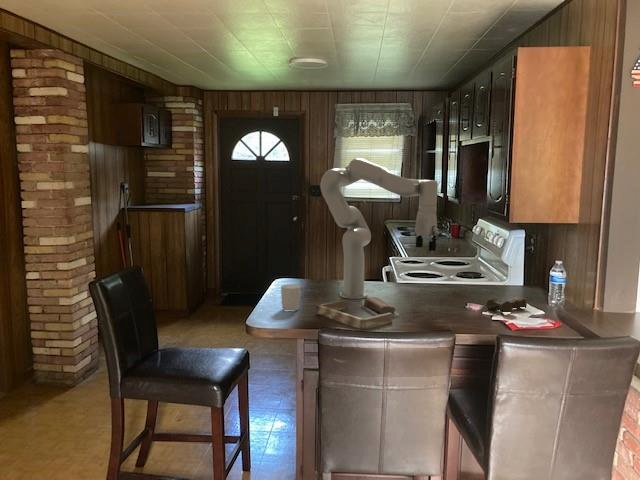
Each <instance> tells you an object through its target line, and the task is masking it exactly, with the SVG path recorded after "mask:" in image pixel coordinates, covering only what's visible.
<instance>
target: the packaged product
mask: <svg viewBox="0 0 640 480" xmlns="http://www.w3.org/2000/svg"><path fill="white" fill-rule="evenodd" d="M360 309H362V310H364V311H365V312H366V313H368V314H369V315H371V316H372V317H373V316H377V315H381V314H385V313H392V318H399V317H401V314H399V313H398V312H396V307H394V305H391V304H389V303H388V302H386V301H385V300H383V299H381V298H379V297H377V296H373V297H365V298H364V302H363V304H360Z"/></svg>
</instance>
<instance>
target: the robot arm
mask: <svg viewBox="0 0 640 480" xmlns="http://www.w3.org/2000/svg"><path fill="white" fill-rule="evenodd" d="M361 180H363V181H365V182H368V183H370V184H372V185H375V186H378V187H379V188H382V189H384V190H386V191H387V192H390V193H393V194H394V195H395V194H396V195H398V196H400V197H403V198H410V197H418V211H417V214H416V219H415V226H414V227H413V230H414V235H415V248H423V247H424V246H423V245H424V238H423V237H428V240H429V241H428V251H429V252H433V251H436V250H437V242H438V239H439V235H440V230H439V229H438V219H437V218H438V215H437V203H438V186H439V185H438V181H437V180H434V179H432V180H431V179H415V178H405V177H403V176H400V175H397V174H395V173H392V172H391V171H389V170H388V168H387V167H385V166H382V165H379V164H377V163H373V162H371V161H370V160H369V159H367V158H364V157H363V158H361V157H356V158H353V159H352V160H351V161H350V162H349V164H348V165H347V166H345V167H342V168H339V167H337V168H330V169H328V170H326V171H325V172H324V174H323V175H322V176H321V179H320V192H321V194H322V197H323V198H324V200H325V202H326V204H327V206H328V208H329V211H330V213H331V215H332V217H333V219H334V221H335V223H336V224H337V226H338V227H340V228H342V229H343V228H347V230H346V231H345V232H344V233H343V236H342V239H341V240H342V241H341V242H342V249H343V281H342V283H341V285H339V286H338V289H340V290H341V292H340V293H339V296H340V297H341V298H344V299H347V298H348V299H349V300H362V299H365V298H368V293H367V292H365V251H364V247H365V246H367V245H368V244H369V243H370V242H371V240H372V233H371V230H370V229H369V225H367V222H366V221H365V218H364V216H363V215H362V211H360V210H359V208H357V207H355V206H353V205H349V204H348V202H347V200H346V198H345V196H344V194H343V193H342V192H341V190H340V188H342V187H343V188H344V187H347V186H350V185H352V184H354V183H357V182H359V181H361Z"/></svg>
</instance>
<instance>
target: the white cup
mask: <svg viewBox="0 0 640 480" xmlns="http://www.w3.org/2000/svg"><path fill="white" fill-rule="evenodd" d="M280 293H281V298H280V299H281V304H282V305H281V309H282V308H283V309H284V310H297V309H298V308H299V307H300V297H301V296H300V295H301V286H300V285H299V284H294V283H292V284H291V283H288V284H282V285H281V286H280ZM299 309H300V308H299ZM299 309H298V310H299Z"/></svg>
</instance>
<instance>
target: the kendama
mask: <svg viewBox="0 0 640 480" xmlns="http://www.w3.org/2000/svg"><path fill="white" fill-rule="evenodd" d="M527 305H528V303H527V300H526V299H525V298H524V297H519V298H517V299H515V298H514V299H512V300H511V301H508V300H506V301H503V302H500V301H498V300H497V299H496V298H495V297H490V298H489V299H487V300H486V305H485V306H486V309H487V310H488V311H490V310H493V311H499V310H500V313H501V312H511V313H512V312H513V308H518V309H519V308H520V307H525V308H526V309H527V307H528V306H527Z"/></svg>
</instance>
